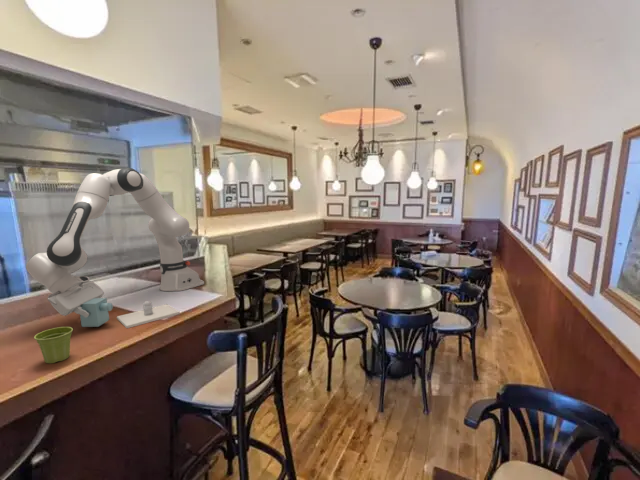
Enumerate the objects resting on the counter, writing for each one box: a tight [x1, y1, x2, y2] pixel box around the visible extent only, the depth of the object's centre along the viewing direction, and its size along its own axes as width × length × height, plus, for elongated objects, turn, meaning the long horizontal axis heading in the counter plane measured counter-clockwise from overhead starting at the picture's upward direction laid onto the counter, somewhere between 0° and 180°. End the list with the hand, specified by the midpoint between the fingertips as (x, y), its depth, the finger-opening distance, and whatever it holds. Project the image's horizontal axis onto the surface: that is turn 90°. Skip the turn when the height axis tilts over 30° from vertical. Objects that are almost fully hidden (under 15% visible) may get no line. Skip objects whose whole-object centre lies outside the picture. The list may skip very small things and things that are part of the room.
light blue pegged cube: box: [79, 297, 114, 328], centre depth 128 cm, size 6×10×9 cm
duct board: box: [116, 300, 181, 329], centre depth 138 cm, size 20×14×7 cm
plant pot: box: [33, 326, 74, 364], centre depth 103 cm, size 9×9×9 cm
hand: (95, 311), depth 128 cm, fingers closed on light blue pegged cube, 6 cm apart
